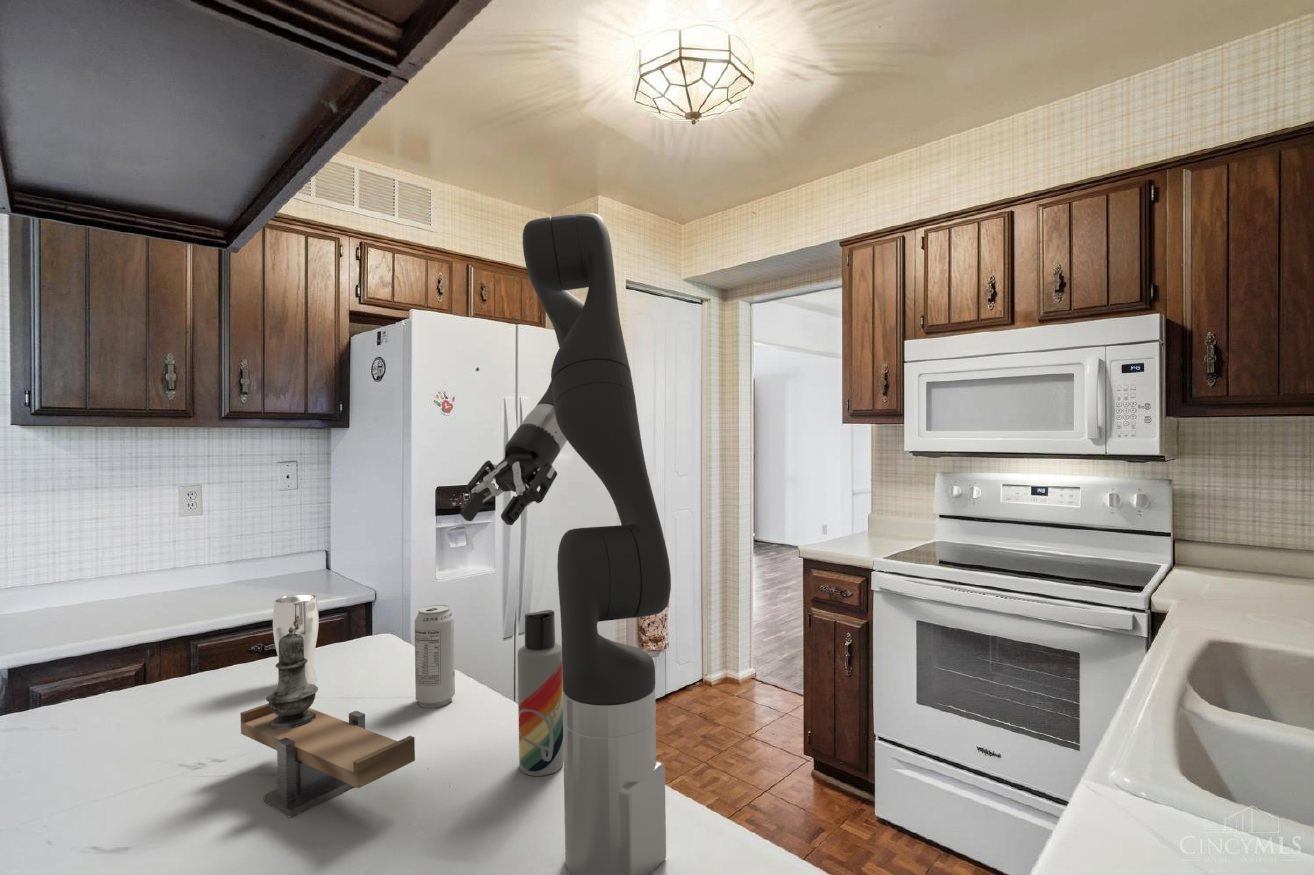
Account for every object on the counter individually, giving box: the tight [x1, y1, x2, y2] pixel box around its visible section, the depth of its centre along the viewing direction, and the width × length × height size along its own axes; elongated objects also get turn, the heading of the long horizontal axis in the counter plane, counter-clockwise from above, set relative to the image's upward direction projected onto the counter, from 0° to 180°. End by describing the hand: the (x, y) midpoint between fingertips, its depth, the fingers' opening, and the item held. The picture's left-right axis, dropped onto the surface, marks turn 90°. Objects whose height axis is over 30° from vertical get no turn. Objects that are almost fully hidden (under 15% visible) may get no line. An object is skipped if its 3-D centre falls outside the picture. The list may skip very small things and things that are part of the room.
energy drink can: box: [414, 604, 456, 708], centre depth 104 cm, size 6×6×15 cm
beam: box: [240, 702, 416, 789], centre depth 79 cm, size 26×7×3 cm, turn 57°
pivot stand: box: [263, 710, 366, 818], centre depth 79 cm, size 6×11×7 cm, turn 147°
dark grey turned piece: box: [265, 627, 319, 730], centre depth 83 cm, size 6×6×12 cm
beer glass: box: [272, 593, 320, 687], centre depth 113 cm, size 7×7×15 cm
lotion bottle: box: [517, 609, 564, 777], centre depth 83 cm, size 6×6×20 cm
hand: (485, 519), depth 93 cm, fingers open, 8 cm apart
